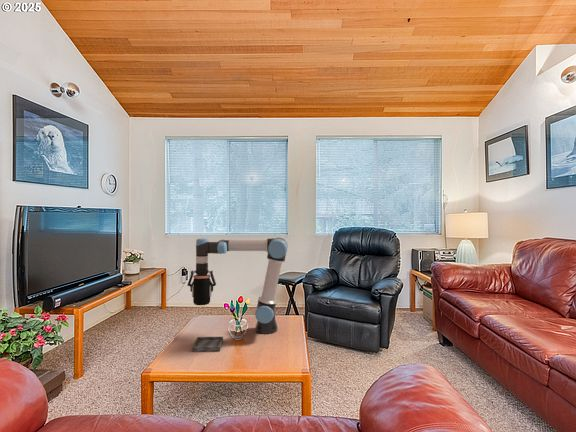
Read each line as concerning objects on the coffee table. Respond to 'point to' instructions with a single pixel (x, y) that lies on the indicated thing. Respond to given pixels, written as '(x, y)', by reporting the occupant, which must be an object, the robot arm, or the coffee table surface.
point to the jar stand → (207, 344)
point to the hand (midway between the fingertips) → (201, 296)
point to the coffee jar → (201, 290)
